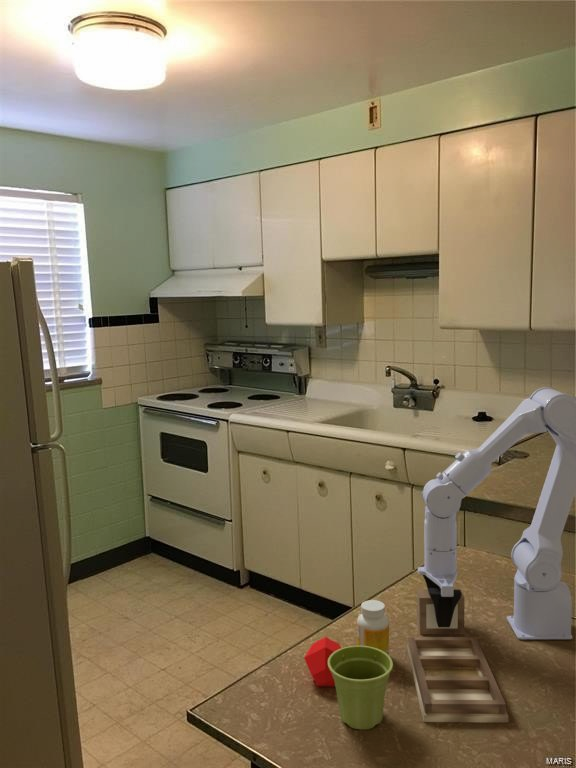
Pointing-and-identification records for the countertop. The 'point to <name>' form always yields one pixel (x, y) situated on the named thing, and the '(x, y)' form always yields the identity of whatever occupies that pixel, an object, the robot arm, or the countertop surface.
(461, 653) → the notch rack
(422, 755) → the countertop surface
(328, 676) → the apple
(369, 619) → the supplement bottle
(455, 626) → the frame block
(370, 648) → the plant pot
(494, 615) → the countertop surface
